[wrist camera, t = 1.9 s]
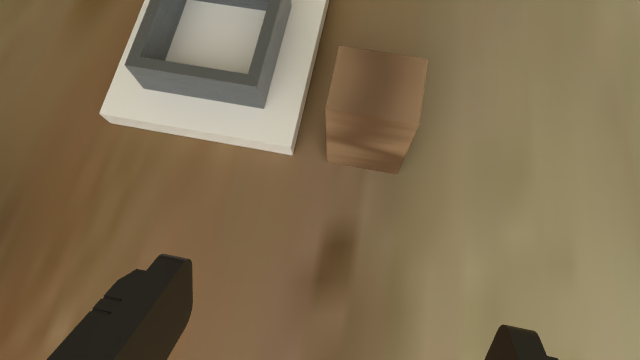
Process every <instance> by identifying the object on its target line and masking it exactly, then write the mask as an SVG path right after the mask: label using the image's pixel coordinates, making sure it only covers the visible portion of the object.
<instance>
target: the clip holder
mask: <svg viewBox="0 0 640 360" xmlns="http://www.w3.org/2000/svg"><path fill="white" fill-rule="evenodd" d="M328 4H329V0H145V1H144V3H143V6H142V8H141V11H140V13H139V16H138V18H137V21H136V23H135V26H134V28H133V31H132V33H131V36H130V38H129V41H128V43H127V46H126V48H125V51H124V53H123V56H122V58H121V61H120V63H119V66H118V68H117V71H116V73H115V76H114V78H113V81H112V83H111V86H110V88H109V91H108V93H107V96H106V98H105V101H104V103H103V106H102V108H101V110H100V113H99V114H100V115H101V116H103V117H104V118H105V119H106V120H107V121H108V122H109V123H113V124H119V125H124V126H130V127H136V128H141V129H147V130H153V131H158V132H164V133H169V134H175V135H181V136H186V137H192V138H198V139H203V140H209V141H214V142H220V143H226V144H231V145H237V146H243V147H248V148H254V149H259V150H265V151H271V152H276V153H282V154H288V155H293V153H294V148H295V144H296V140H297V136H298V131H299V127H300V123H301V119H302V114H303V110H304V106H305V102H306V97H307V93H308V89H309V85H310V81H311V76H312V72H313V68H314V64H315V59H316V55H317V51H318V47H319V42H320V38H321V34H322V30H323V25H324V21H325V17H326V13H327V9H328Z"/></svg>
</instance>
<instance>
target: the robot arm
mask: <svg viewBox="0 0 640 360" xmlns="http://www.w3.org/2000/svg"><path fill="white" fill-rule="evenodd" d="M192 304H193V292H192V262H191V260H190V259H186V258H181V257H176V256H171V255H167V254H161V255H159V256H158V257H157V258H156V260H155V261H154V262H153V263H152V264H151V266H150V267H149V268H148V269H147V270H146V271H144V270H139V269H136V270H134V271H133V272H131V273H129V274H127V275H126V276H124V277H122V278H121V279H119V280H117V282H116V283H115V284H114V285H113V286H112V287H111V288H110V289H109V290H108V292H107V293H106V294H105V295H104V298H103V299H100V301H99V302H98V303H97V304H96V305H95V306H94V307H93V310H92V311H91V312H89V313H88V314H87V315H86V316H85V317H84V318H83V320H82V321H81V322H80V323H79V324H78V325H77V326H76V327H75V328H74V330H73V331H72V332H71V333H70V334H69V335H68V336H67V337H66V339H65V340H64V341H63V342H62V343H61V344H60V345H59V346H58V348H57V349H56V350H55V351H54V352H53V353H52V354H51V355H50V356H49V358H48V359H47V360H167V358H168V356H169V355H170V353H171V351H172V350H173V348H174V346H175V344H176V343H177V341H178V339H179V338H180V336H181V334H182V332H183V331H184V329H185V327H186V325H187V323H188V321H189V318H190V315H191V311H192ZM485 360H558V359H557V358H554V357H549V356H547V355H546V352H545V350H544V348H543V345H542V343H541V340H540V338H539V336H538V334H537V333H536V332H535V331H532V330H527V329H522V328H517V327H513V326H508V325H501V326H500V327H499V329H498V331H497V333H496V335H495V337H494V340H493V342H492V344H491V346H490V349H489V351H488V353H487V355H486V358H485Z"/></svg>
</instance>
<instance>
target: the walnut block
mask: <svg viewBox="0 0 640 360" xmlns="http://www.w3.org/2000/svg"><path fill="white" fill-rule="evenodd" d="M427 66H428V59H424V58H418V57H411V56H405V55H398V54H392V53H385V52H379V51H372V50H365V49H359V48H352V47H346V46H339V48H338V53H337V58H336V62H335V67H334V71H333V76H332V80H331V85H330V89H329V94H328V99H327V103H326V108H325V112H326V144H327V162H331V163H337V164H342V165H348V166H354V167H359V168H365V169H371V170H376V171H382V172H387V173H393V174H397V173H398V171H399V169H400V166H401V164H402V162H403V160H404V157H405V155H406V153H407V151H408V148H409V146H410V144H411V142H412V139H413V137H414V135H415V133H416V131H417V128H418V126H419V124H420V116H421V109H422V102H423V95H424V88H425V81H426V74H427Z"/></svg>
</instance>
